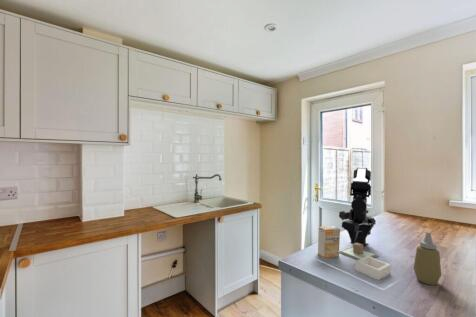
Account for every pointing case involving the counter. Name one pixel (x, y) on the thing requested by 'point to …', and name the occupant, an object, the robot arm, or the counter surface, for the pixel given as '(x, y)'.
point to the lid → (357, 251)
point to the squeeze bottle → (427, 261)
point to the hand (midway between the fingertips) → (358, 241)
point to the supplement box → (328, 241)
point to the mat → (355, 258)
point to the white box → (373, 267)
